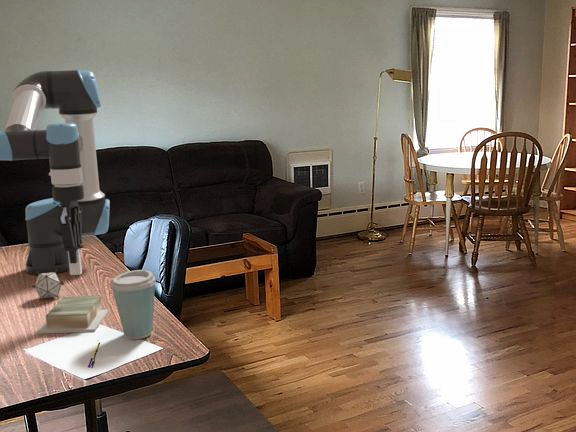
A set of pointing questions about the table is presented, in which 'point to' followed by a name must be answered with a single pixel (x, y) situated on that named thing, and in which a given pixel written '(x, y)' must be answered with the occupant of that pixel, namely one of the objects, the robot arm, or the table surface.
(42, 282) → the game die
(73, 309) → the wooden block
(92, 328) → the mat
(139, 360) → the table surface
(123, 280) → the disposable coffee cup
